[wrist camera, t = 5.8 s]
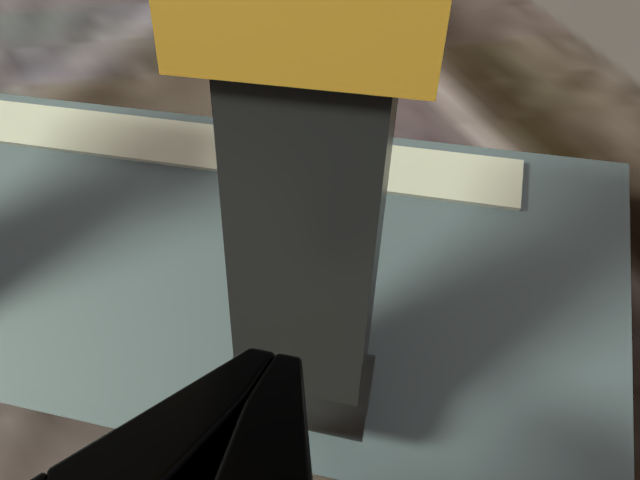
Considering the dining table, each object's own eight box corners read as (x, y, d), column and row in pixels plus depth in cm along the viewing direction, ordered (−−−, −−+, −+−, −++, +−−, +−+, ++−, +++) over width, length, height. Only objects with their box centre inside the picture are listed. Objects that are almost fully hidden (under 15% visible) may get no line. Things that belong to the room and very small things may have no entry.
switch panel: (590, 527, 14) (639, 549, 11) (-267, 334, 18) (-367, 319, 16) (594, 200, 17) (632, 160, 14) (-133, 110, 22) (-199, 68, 19)
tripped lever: (375, 472, 11) (466, -98, 5) (210, 435, 12) (133, -109, 6) (386, 390, 13) (463, -92, 7) (244, 362, 14) (211, -101, 8)
